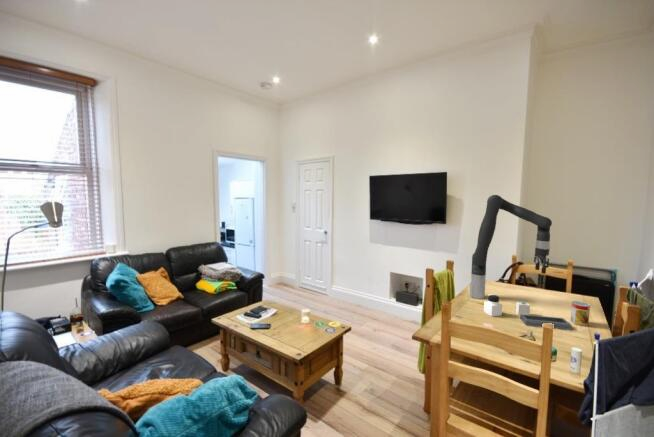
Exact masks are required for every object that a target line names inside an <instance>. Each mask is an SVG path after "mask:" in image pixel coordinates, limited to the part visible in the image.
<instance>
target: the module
mask: <svg viewBox="0 0 654 437" xmlns="http://www.w3.org/2000/svg"><path fill="white" fill-rule="evenodd" d="M515 305H516V306H515V307H516V309H515V313H516V315H517V316H520V314H524V315H530V313H531V312H530V311H531V305H530V304H529V303H528V302H526V301H516V304H515Z"/></svg>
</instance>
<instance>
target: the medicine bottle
mask: <svg viewBox="0 0 654 437" xmlns="http://www.w3.org/2000/svg"><path fill="white" fill-rule="evenodd" d="M499 302H500V296H499V295H496V294H493V293H492V294H491V293H490V294H488V295H487V300H486V301H484V302H483V303H484V304H483V313H485V314H487V315H488V316H489V317H502V313H503V304H501V303H499Z"/></svg>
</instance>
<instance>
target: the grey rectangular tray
mask: <svg viewBox="0 0 654 437" xmlns="http://www.w3.org/2000/svg"><path fill="white" fill-rule="evenodd" d="M519 319H520V321H521V322H522V323H523V324H524V325H525V326H526V327H534V328H535V327H536V328H537V327H538V328H543V327H542V324H543V323H552V324H554V328H553V329H555V330H564V331H565V330H566V331H572V323H571V322H569V321H567V320H566V319H565V318H563V317H558V316H557V317H555V316H545V315H544V316H543V315H533V314H529V315H524V314H520V315H519ZM556 328H557V329H556Z"/></svg>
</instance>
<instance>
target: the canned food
mask: <svg viewBox="0 0 654 437" xmlns="http://www.w3.org/2000/svg"><path fill="white" fill-rule="evenodd" d="M570 308H571V309H570V324H573V325H575V326H579V327H588V326H589V323H590V322H589V321H590V309H591V305H590V304H589V303H587V302H584V301H579V300H573V301H571V307H570Z"/></svg>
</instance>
